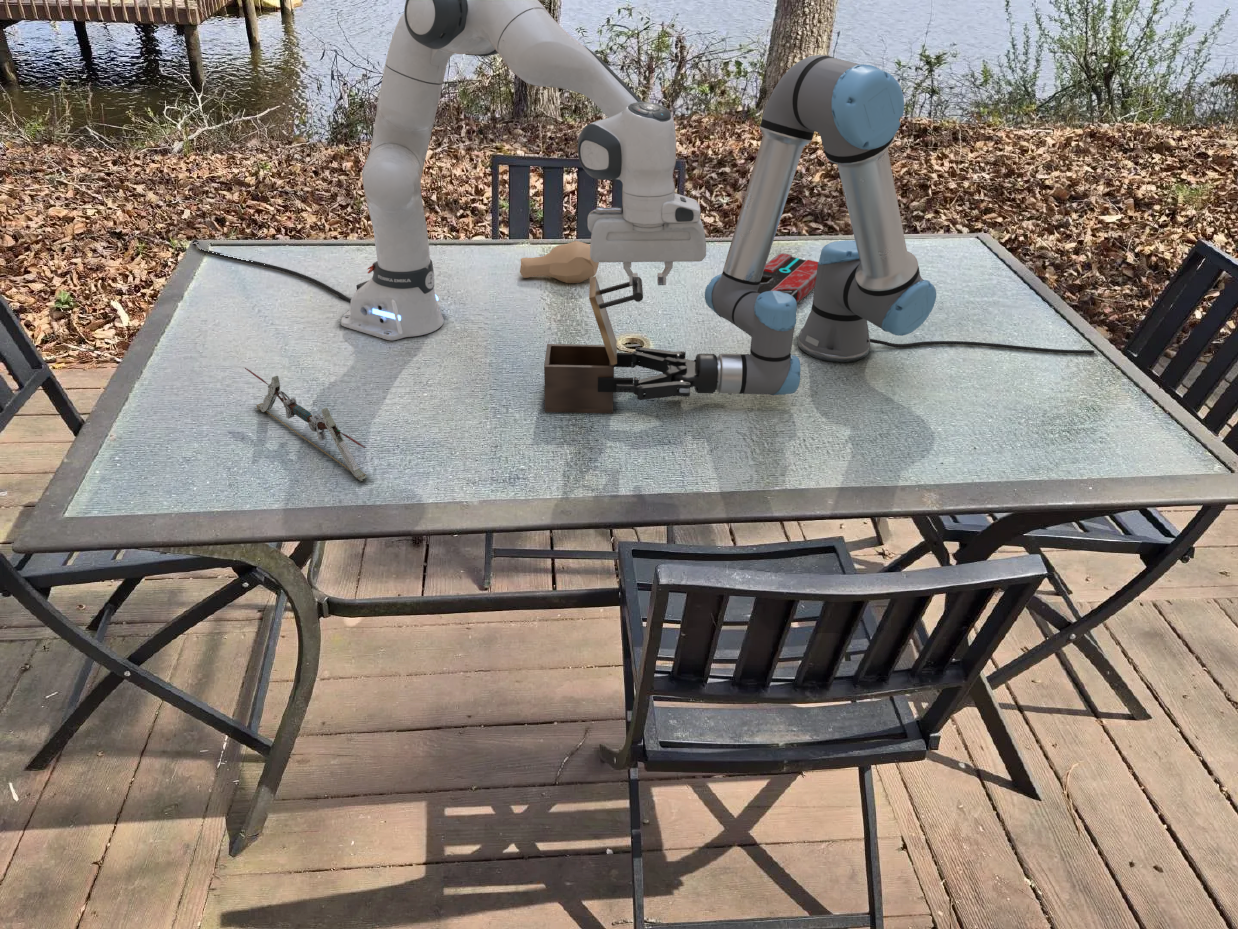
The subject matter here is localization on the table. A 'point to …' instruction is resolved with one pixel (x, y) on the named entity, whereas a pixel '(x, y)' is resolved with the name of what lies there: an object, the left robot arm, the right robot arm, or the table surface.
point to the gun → (789, 276)
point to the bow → (311, 423)
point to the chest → (576, 378)
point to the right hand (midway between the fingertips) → (598, 371)
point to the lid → (602, 314)
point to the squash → (562, 263)
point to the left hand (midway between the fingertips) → (647, 284)
